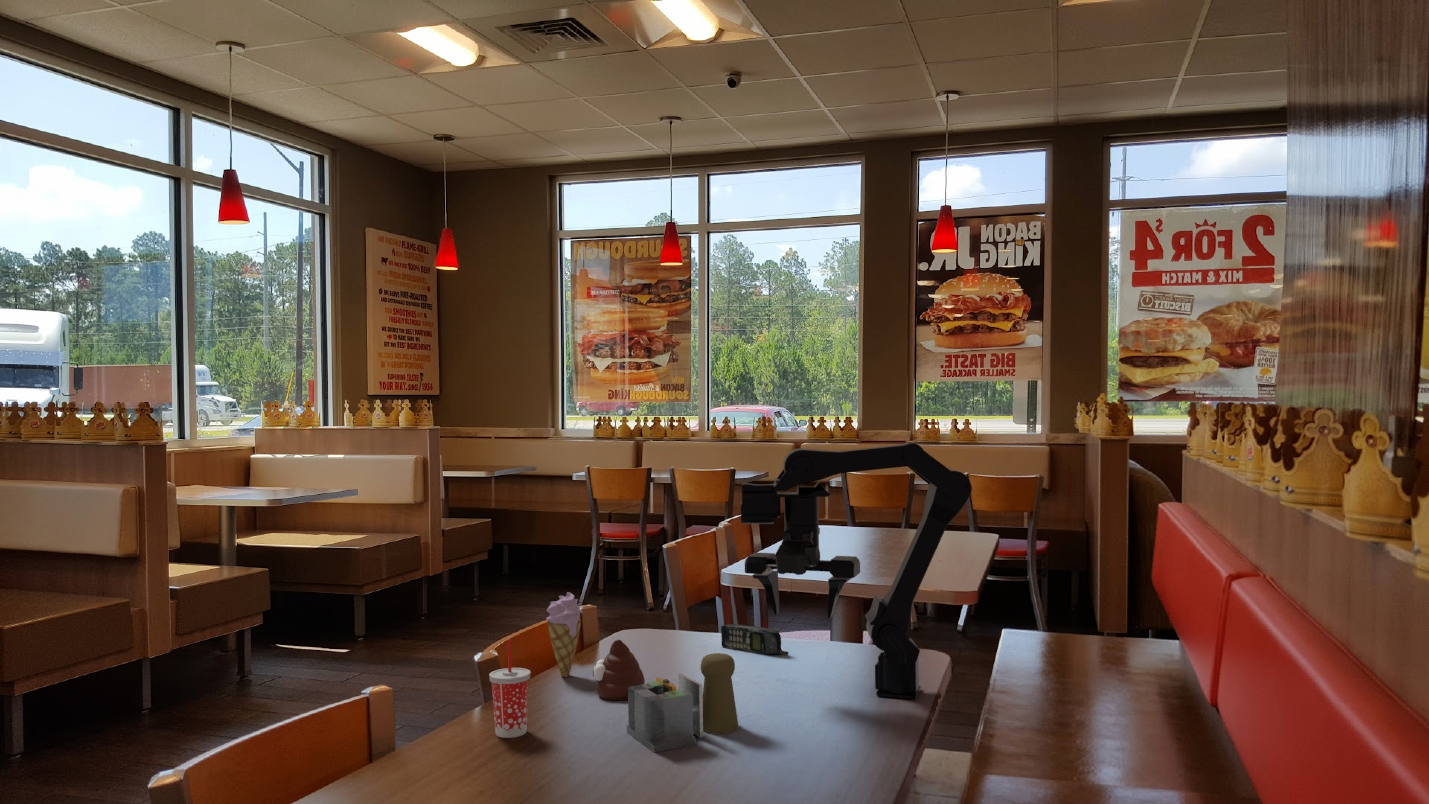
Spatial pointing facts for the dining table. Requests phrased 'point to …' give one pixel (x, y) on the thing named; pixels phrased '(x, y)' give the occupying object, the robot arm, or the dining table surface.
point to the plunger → (697, 699)
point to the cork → (718, 694)
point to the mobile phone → (751, 639)
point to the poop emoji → (617, 673)
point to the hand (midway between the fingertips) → (802, 616)
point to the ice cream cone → (564, 630)
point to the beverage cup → (510, 699)
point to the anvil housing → (660, 717)
